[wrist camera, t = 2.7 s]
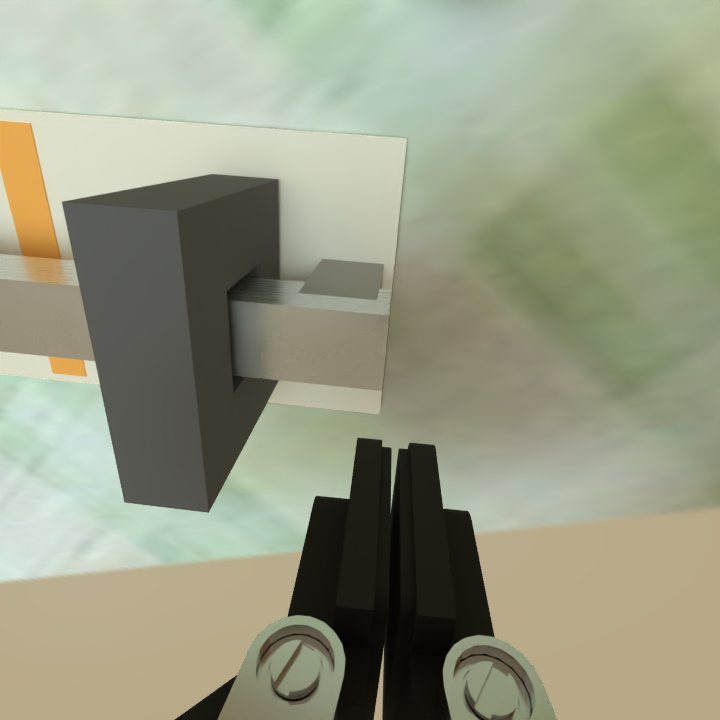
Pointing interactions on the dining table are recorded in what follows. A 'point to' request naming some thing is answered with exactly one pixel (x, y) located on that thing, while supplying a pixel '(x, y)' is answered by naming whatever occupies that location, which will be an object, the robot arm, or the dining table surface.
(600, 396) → the dining table surface
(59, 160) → the stand
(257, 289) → the metal square bar
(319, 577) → the robot arm
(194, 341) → the collar
